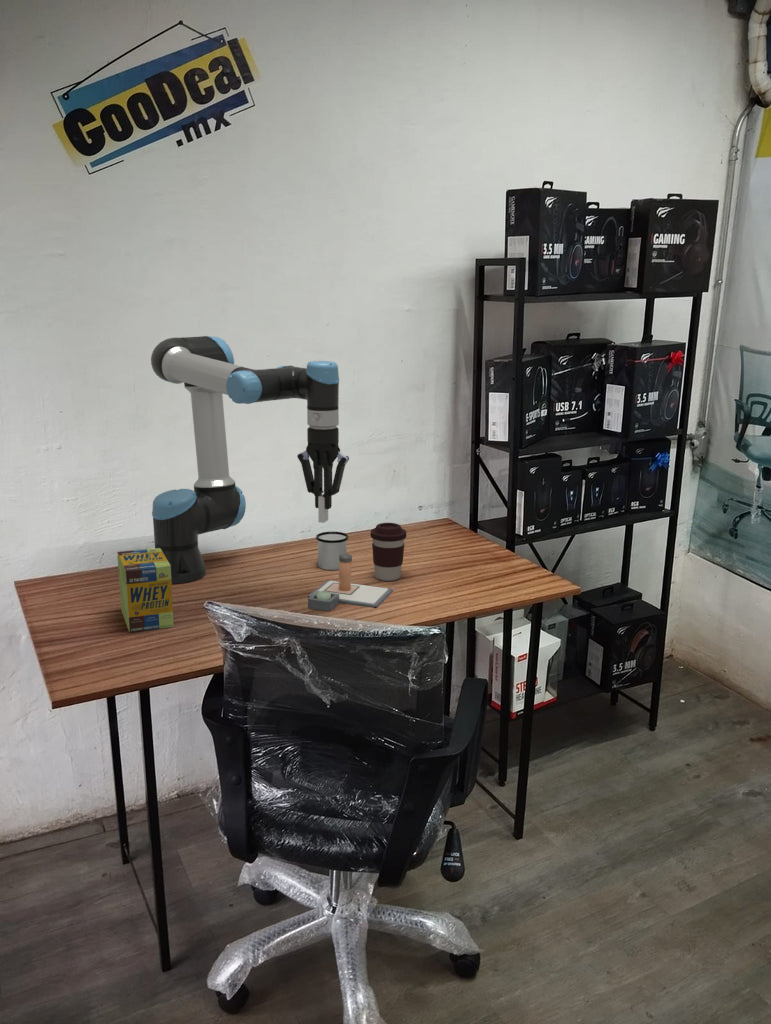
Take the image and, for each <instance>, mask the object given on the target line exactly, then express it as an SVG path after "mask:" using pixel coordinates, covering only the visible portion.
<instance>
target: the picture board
mask: <svg viewBox="0 0 771 1024" xmlns="http://www.w3.org/2000/svg"><path fill="white" fill-rule="evenodd" d="M317 591H328V592H330V593H335V594H339V604H347V605H353V606H355V605H356V606H360V605H361V606H360V607H368V608H374V607H376V608H378V607H379V606H380V605H381V604H382V603H383V602H384V601H385V600H386V599H387V598H388V597H389V596H390V595H391V594H392V593H393V592H394V588H389V587H388V588H387V587H380V586H374V585H373V586H372V585H366V584H360V583H352V582H351V589H350V590H349V591H341V590H339V580H338V581H337V580H331V579H330V580H329V579H328V580H325V582H323V583H321V585H319V586H318V587H317V588H316V589H314V590H313V591H312V592H310V594H308V595H307V598H308V599H309V598H310V597H311V596H312V595H313V594H315V593H316V592H317ZM376 608H375V609H376Z"/></svg>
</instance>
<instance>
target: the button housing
mask: <svg viewBox="0 0 771 1024" xmlns="http://www.w3.org/2000/svg"><path fill="white" fill-rule="evenodd" d="M317 592H320V591H317ZM317 592H316V593H315V594H313V595H312V596H311V597H310V598H308V599H307V608H308V609H310V610H319V611H324V612H331V611H332V610H333V609H335V608H336V607H337V606H338V605H339V604H340V603H339V594H335V593H331V598H330V599H329V600H322V599H317Z"/></svg>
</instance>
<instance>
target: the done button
mask: <svg viewBox="0 0 771 1024" xmlns="http://www.w3.org/2000/svg"><path fill="white" fill-rule="evenodd" d="M330 598H331V593H330V592H328V591H320V592H317V599H322V600H329V599H330Z"/></svg>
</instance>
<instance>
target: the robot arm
mask: <svg viewBox="0 0 771 1024" xmlns="http://www.w3.org/2000/svg"><path fill="white" fill-rule="evenodd" d="M150 363H151V365H150V366H151V368H152V370H153V372H154V374H155V375H156V376H157V377H158V378H160V379H161V380H163V381H164V382H169V383H171V384H176V385H179V384H183V387H184V389H185V390H187V391H188V392H189V393H190V400H191V401H190V402H191V410H192V422H193V432H194V433H193V434H194V442H195V444H194V445H195V454H196V465H197V476H198V479H197V480H196V481H195V482H194V483H193V489H191V488H190V489H189V488H180V489H171V490H170V489H169V490H167V491H164V492H162V493H159V494H158V495H157V496H155V498H154V499H153V501H152V510H151V511H152V512H151V515H152V522H153V524H152V525H153V536H154V537H153V538H154V540H153V541H154V548H160V549H161V550H162V552H163V554H164V555H165V557H166V559H167V560H168V562H169V564H170V565H171V580H172V585H173V584H185V583H191V582H194V581H197V580H198V581H199V579H202V578H204V576H206V574H207V573H206V564H205V561H204V558H203V557H202V554H201V551H200V548H199V537H198V536H199V535H202V534H207V533H211V532H215V531H219V530H227V529H229V528H231V527H233V526H237V525H238V524H239V523H240V522H241V521H242V519H243V518H244V516H245V512H246V509H247V508H246V506H247V505H246V504H247V503H246V498H245V497H246V496H245V494H243V490H242V489H241V488H240V487H239V486H237V485H236V481H235V480H234V479H233V478H232V477H231V476H230V471H229V458H228V445H227V434H226V421H225V410H224V399H223V398H224V397H223V395H227V396H228V397H229V398H230V399H231V401H232V402H233V403H235V404H238V405H239V404H246V405H249V404H254V403H262V402H269V401H278V400H289V399H301V400H306V402H307V405H306V409H307V410H306V411H307V412H306V413H307V414H306V415H307V416H306V417H307V418H306V419H307V423H306V424H307V425H308V428H306V430H307V436H306V438H307V445H306V447H305V448H306V449H305V450H304V451H303V452H300V453H298V454H297V456H296V457H297V459H298V461H299V462H300V465H301V469H302V473H303V477H304V482H305V485H306V490H307V492H308V493H311V494H313V495H314V507H315V509H318V512H317V514H318V523H321V524H322V523H323V524H324V523H326V522H328V521H329V510H330V509H332V504H333V503H332V502H333V501H332V500H333V499H332V496H334V495H335V496H336V494H338V493H339V492H340V489H341V484H342V481H343V476H344V471H345V468H346V464H347V463H348V462H349V460H350V457H349V455H344V454H343V453H342V452H341V448H340V446H339V436H340V435H339V434H340V432H339V427H337V426H339V424H340V423H339V422H340V420H339V418H340V417H339V416H340V415H339V414H340V413H339V410H340V409H339V399H340V398H339V395H340V394H339V389H340V388H339V387H340V386H339V383H340V377H339V366H338V364H337V363H336V362H335V361H331V360H327V361H326V360H313V361H312V360H311V361H309V362H307V364H306V367H301V366H300V367H299V366H294V365H280V366H278V367H276V368H265V369H254V368H249V367H245V366H241V365H237V364H235V359H234V354H233V351H232V349H231V348H230V346H229V344H228V343H227V342H226V341H225V339H223V338H221V337H219V336H212V335H211V336H208V335H203V336H188V337H187V336H184V337H183V336H182V337H170V338H167V339H164V340H162V341H161V342H159V343H158V344H157V345H156V346H155V347H154V349H153V350H152V352H151V356H150ZM310 460H311V461H312V462H313V464H311V461H310ZM335 461H337V465H336V467H335V472H334V476H333V467H334V462H335ZM311 465H312V466H311ZM312 467H313V470H312ZM333 477H334V478H333Z"/></svg>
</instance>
